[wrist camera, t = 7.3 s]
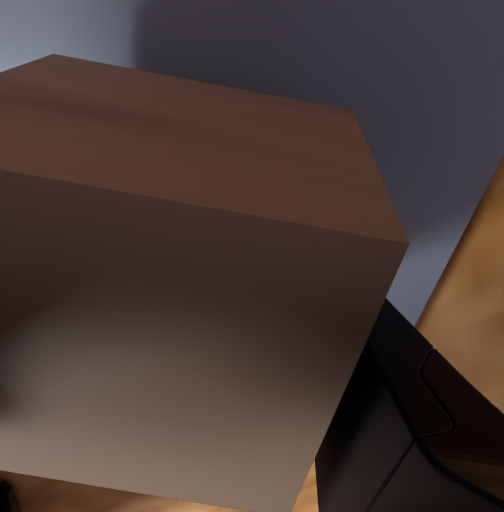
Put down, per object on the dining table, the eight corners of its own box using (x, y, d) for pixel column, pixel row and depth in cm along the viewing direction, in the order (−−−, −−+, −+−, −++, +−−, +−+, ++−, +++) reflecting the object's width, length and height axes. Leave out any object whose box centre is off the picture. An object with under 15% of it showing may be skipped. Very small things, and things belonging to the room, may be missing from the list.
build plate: (372, 376, 16) (376, 398, 15) (6, 312, 16) (-10, 331, 15) (600, -90, 8) (634, -96, 8) (-118, -236, 8) (-164, -259, 7)
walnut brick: (290, 326, 12) (288, 517, 8) (76, 289, 12) (-44, 463, 8) (352, 110, 8) (410, 244, 4) (53, 53, 8) (-182, 135, 4)
